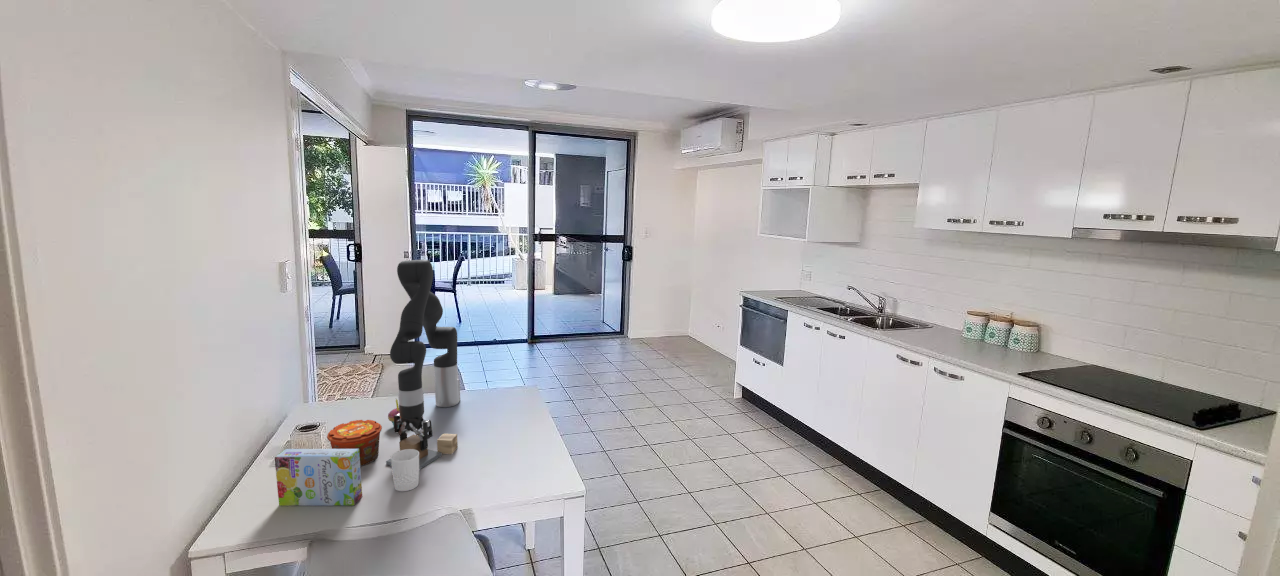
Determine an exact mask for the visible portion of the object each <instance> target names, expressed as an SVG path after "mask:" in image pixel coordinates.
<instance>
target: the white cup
mask: <svg viewBox="0 0 1280 576" xmlns="http://www.w3.org/2000/svg"><path fill="white" fill-rule="evenodd" d="M390 459H391V466H390V467H391V471H392V473H391V474H392V481H393V485H394V489H395V491H397V492H407V491H409V492H410V491H411V490H414V489H415V488H417V487H418V486H419V484H420V469H419V451H417V450H415V449H405V450H400V449H399V450H398V451H395V452H394V453H392V454H391V455H390Z"/></svg>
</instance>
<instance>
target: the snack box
mask: <svg viewBox="0 0 1280 576" xmlns="http://www.w3.org/2000/svg"><path fill="white" fill-rule="evenodd" d="M274 466H275V477H276V489H277V497H278V506H280V507H283V506H287V507H288V506H289V507H290V506H296V507H297V506H303V507H304V506H305V507H306V506H309V507H310V506H318V507H319V506H321V507H322V506H327V507H328V506H355V505H356V504H357V503H358V502H359V500H361V499H362V497H363V486H362V473H361V472H362V471H361V466H360V453H359V449H332V448H285V449H284V450H282V451H281V452H280V453H278V454H277V455H276V456H274Z"/></svg>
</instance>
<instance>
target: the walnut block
mask: <svg viewBox="0 0 1280 576" xmlns="http://www.w3.org/2000/svg"><path fill="white" fill-rule="evenodd" d="M428 447H429V446H428ZM428 447H427V449H426V450H424V451H421V449H420V438H419V436H418V435H416V434H411V435H410V436H407V438H406V439H404V440H402V441H400V440H399V451H400V450H405V449H415V450H417V451H419V460H420V459H421V458H423V457H425V456H426V455H428V449H429V448H428Z"/></svg>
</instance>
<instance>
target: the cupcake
mask: <svg viewBox="0 0 1280 576" xmlns="http://www.w3.org/2000/svg"><path fill="white" fill-rule="evenodd" d="M395 404H396V408H394V409H392V410H390V411H389V413H388V415H387V418H388V421H390V422H391V423H392V425H393V427H394V416H395V415H397V414H399V399H397V398H395ZM402 425H403V423H402ZM398 427H399V425H398Z"/></svg>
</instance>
